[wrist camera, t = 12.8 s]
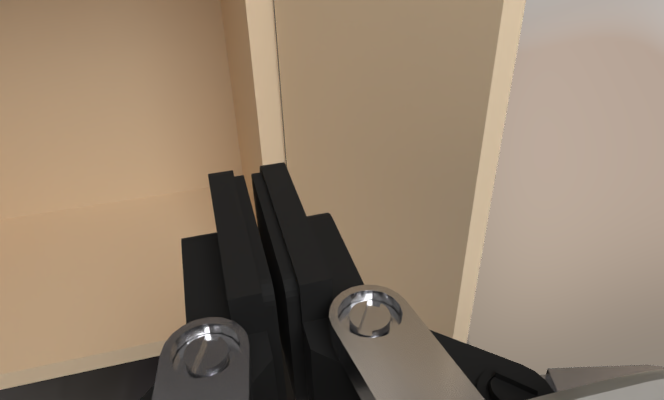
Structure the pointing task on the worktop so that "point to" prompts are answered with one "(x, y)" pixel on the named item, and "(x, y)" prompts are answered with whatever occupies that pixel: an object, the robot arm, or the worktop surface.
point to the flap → (401, 135)
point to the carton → (119, 166)
